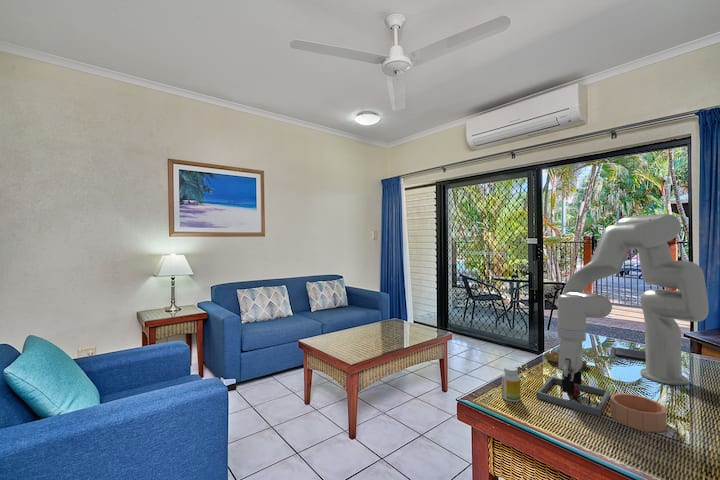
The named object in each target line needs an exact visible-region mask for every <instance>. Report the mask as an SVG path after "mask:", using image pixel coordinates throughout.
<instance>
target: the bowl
mask: <svg viewBox="0 0 720 480" xmlns="http://www.w3.org/2000/svg"><path fill="white" fill-rule="evenodd" d="M609 409H610V411H609V413H610V415H611V417H612V418H613V420H615V421H616V422H617V423H620V424H621V425H623V426H626V427H627V428H629V429H630V428H631V429H634V430H637V431H641V432H647V433H654V434H655V433H656V434H657V433H664V432H666V431H667V408H666V406H664V405H663V404H661V403H660V402H659V401H656V400H653V399H651V398H648V397H646V396H642V395H638V394H632V393H623V392H619V393H612V394H611V395H610V397H609Z"/></svg>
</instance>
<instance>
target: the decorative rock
mask: <svg viewBox="0 0 720 480" xmlns="http://www.w3.org/2000/svg"><path fill="white" fill-rule="evenodd" d="M544 357H545V358H546V360H547V361H549V362H551V363H554V364H555V365H557V366H558V365H559V351H558V352H557V351H552V352H546V353H545V354H544ZM587 362H588V361H587V360H583V361H582V367H581V372H584V371H585V370H586V369H585V368H586V367H587V366H588V364H587ZM569 370H571V369H569Z"/></svg>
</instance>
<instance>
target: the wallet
mask: <svg viewBox="0 0 720 480" xmlns="http://www.w3.org/2000/svg"><path fill="white" fill-rule="evenodd" d="M609 357H611V358H615V359H623V360H629V361H636V362H642V363H646V354H645V350H643V351H642V350H638V349H629V348H623V347H611V349H610V354H609Z"/></svg>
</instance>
